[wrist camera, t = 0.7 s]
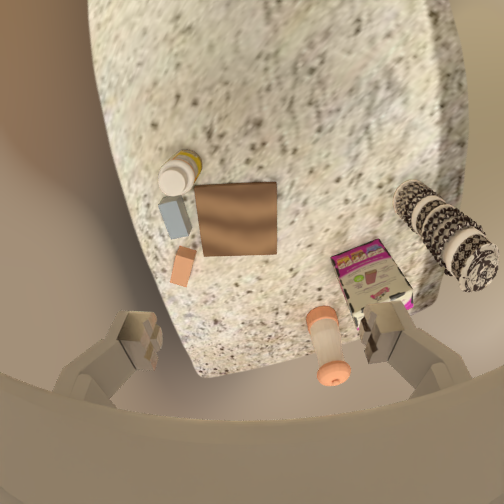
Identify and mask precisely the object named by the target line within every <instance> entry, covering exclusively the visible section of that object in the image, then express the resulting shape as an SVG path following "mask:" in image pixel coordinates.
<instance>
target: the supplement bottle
mask: <svg viewBox="0 0 504 504" xmlns="http://www.w3.org/2000/svg"><path fill="white" fill-rule="evenodd" d="M201 170H202V161H201V158H200V157H199V155H198V154H197V153H195V152H194V151H191V150H181V151H179V152H177V153H176V154H175V155H174V156H172V157H171V158H170V159H169V160H168V161H167V162H166V163H165V164H164V165H163V166H162V167H161V169H160V171H159V174H158V181H159V188H160V189H161V191H162V192H163V193H164V194H166V195H168V196H178V195H183V194H185V193H187V192H188V191H189V190H190V189H191V188H192V186H193V185H194V183H195V181H196V179H197V178H198V176H199V174H200V172H201Z"/></svg>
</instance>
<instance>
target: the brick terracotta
mask: <svg viewBox="0 0 504 504" xmlns="http://www.w3.org/2000/svg"><path fill="white" fill-rule="evenodd" d="M195 255H196V250H192V249H189V248H186V247H182V246H179V249H178V251H177V254H176V257H175V261H174V266H173V270H172V275H171V280H170V283H174V284H177V285H180V286H184V287H187V284H188V280H189V277H190V273H191V269H192V266H193V262H194V258H195Z"/></svg>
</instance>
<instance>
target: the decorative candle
mask: <svg viewBox="0 0 504 504" xmlns="http://www.w3.org/2000/svg"><path fill="white" fill-rule="evenodd" d="M393 206H394V210H395V212H396V213H397V214H398V215H399V216H400V218H401V219H403V218H404V223H408V227H410V228H411V230H412V231H413V232H416V234H418V235H419V236H420V237H422V240H423V243H424V244H425V245H426V247H427V249H429V250H430V253H432V256H434V259H435V260H437V262H438V263H439V265H440V266H441V267H445V268H447V269H448V270H449V271H448V270H447V269H445V271H444V273H445V274H446V275H449V276H453V277H455V278H456V279H457V280H458V281H459V286H460V288H461V289H462V291H465V292H472V291H479V290H482V289H484V288H485V287H487V286H488V285H489V284H490V282H492V280H493V278H494V277H495V276H496V273H497V270H498V265H499V250H498V248H497V246H496V245H494V244H492V243H491V242H490V241H489V240H487V239H486V237H485V235H486V234H485V232H483V231H482V227H481V226H480V225H478V226H477V223H476V222H475V221H472V219H471V218H469V217H468V216H467V215H465V216H464V213H463V212H460V211H459V209H457V208H455V207H453V206H451V205H449V204H446V202H445V201H444V200H442V198H441V196H440V195H437V193H436V192H433V190H432V189H431V188H428V186H426V185H424V184H423V183H422V182H420V181H418V180H408V181H406V182H404V183H402V184H401V185H400V186H399V187H398V188H397V190H396V192H395V194H394V197H393ZM472 226H473V227H475V228H473V227H472ZM443 261H444V262H445V263H443Z"/></svg>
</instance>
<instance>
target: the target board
mask: <svg viewBox="0 0 504 504" xmlns="http://www.w3.org/2000/svg"><path fill="white" fill-rule="evenodd" d="M194 191H195V199H196V206H197V214H198V221H199V228H200V235H201V241H202V248H203V254H204V257H209V256H241V255H273V254H277V183H276V182H254V183H231V184H213V185H198V186H195V187H194Z"/></svg>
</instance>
